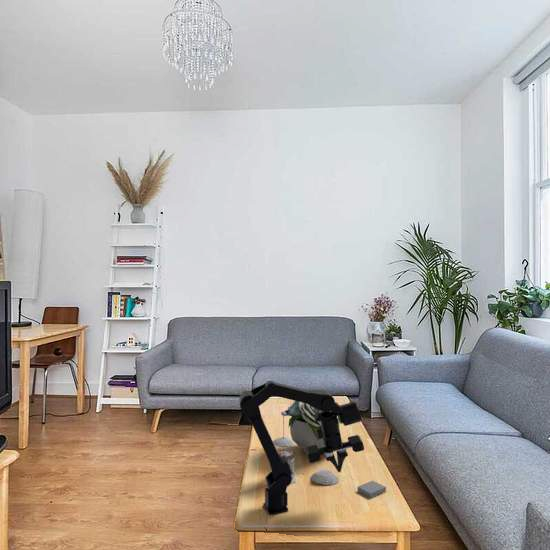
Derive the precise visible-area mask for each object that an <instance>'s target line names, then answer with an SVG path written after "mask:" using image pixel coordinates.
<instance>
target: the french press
mask: <svg viewBox="0 0 550 550" xmlns="http://www.w3.org/2000/svg"><path fill="white" fill-rule="evenodd" d="M280 414H281V416H282V418H283V421H282V423H283V424H282V425H283V427H282V428H283V430H282V431H283V434H282V436H281V437H277V438H275V439H273V440H272V441H273V443H274V445H275V447H278V448H283V449H276V450H277V452H278V454H279V455H280V456H281V457H282V456H284V455H285V457H286V459H287V462H288V464H289V465H290V468H291V470H292V473H293V474H291V476H292V481H291V485H293V484H295V483H296V482H297V480H296V479H297V477H296V476H295V462H294V461H295V456H294V453H293V451H292V450H289V449H285V448H289V447H292V446H293V445H294V444H295V442H294V441H293V440H292V438H290V437H287V436H285V417H286V416H285V415H286V412H285V411H281V413H280ZM295 481H296V482H295ZM294 482H295V483H294ZM292 483H293V484H292Z"/></svg>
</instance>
